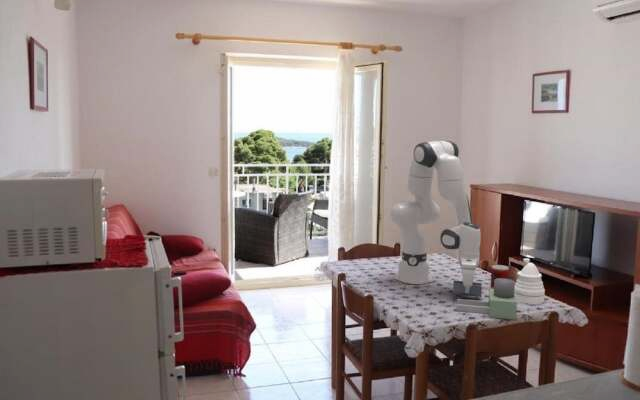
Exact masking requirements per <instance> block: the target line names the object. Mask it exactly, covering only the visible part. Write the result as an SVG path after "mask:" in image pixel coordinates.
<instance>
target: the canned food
mask: <svg viewBox="0 0 640 400" xmlns="http://www.w3.org/2000/svg"><path fill="white" fill-rule="evenodd" d="M509 271H510V269H509V266H507V265H502V264H494V265H492V266H491V271H490V273H491V274H490V289H494V280H495V279H498V278H505V279H509V276H510V275H509Z"/></svg>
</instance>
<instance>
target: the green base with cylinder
mask: <svg viewBox="0 0 640 400" xmlns="http://www.w3.org/2000/svg"><path fill="white" fill-rule="evenodd" d="M515 284H516V281H515V280H513V279H511V278H510V279H509V278H508V279H505V278H498V279H495V280H494V289H491V287H490V288H489V290H488V292H489V293H488V301H487V300H486V301H485V300H477V299H467V298H465V299H464V298H457V299H456V305H455V307H456V308H455V311H456V312H465V313H475V314H486V315H488V317H489V318H496V319H503V320H505V319H506V320H517V309H518V308H517V307H518V306H517V305H518V303H517V301H516V296H515V292H514V290H515Z"/></svg>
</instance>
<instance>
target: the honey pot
mask: <svg viewBox="0 0 640 400" xmlns="http://www.w3.org/2000/svg"><path fill="white" fill-rule="evenodd" d="M530 261H531V259H530V258H523V263H524V264H525V265H524V266H523V268H522V269H521V270H519V271H518V272H516V273H517V276H518V277H517V278H516V281H515V290H514V292H515V296H516V301H519V302H518V303H520V302H523V303H522V304H524V303H529V304H528V305H533V304H535V305H540V304H539V303H542V304H544V303H545V292H546V290H545V287H544V281H542V277H543V275H542V273H540V272H539V270H538V268H537V266H536V264H534V263H533V262H530ZM543 302H544V303H543Z"/></svg>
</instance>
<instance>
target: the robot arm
mask: <svg viewBox="0 0 640 400" xmlns="http://www.w3.org/2000/svg"><path fill="white" fill-rule="evenodd" d="M459 153H460V151H459V147H458V145H457V144H456V142H453V141H450V140H434V141H424V142H420V143H418V144H417V145H416V146H415V147H414V149H413V157H412V159H411V163H410V168H409V173H408V181H407V190H408V191H409V193H410V194H412V195H413V196H414V198H415V199H414V201H410V202H409V201H408V202H407V201H406V202H400V203H397V204H394V205H393V206H392V208H391V210H390V218H391V220H392V222H393V223H394V224H395V225H396V226H397V227H398V228H399V230H400V232H401V234H402V251H401V261H399V262H398V267H397V268H398V271H397V274H396V275H395V276H394V280H397V281H399V282H402V283H405V284H412V285H422V284H423V285H424V284H427V283H433V282H434V280H433V279H434V278H433V277H432V275H431V271H430V265H429V263H428V262H427V258H428V255H427V237H426V236H425V234H424V233H423V232H421V231H419V228H418V225H427V224H432V223H434V222H437V221H438V220H439V219H440V216H441V208H440V206H439V204H438V203H436V202H435V200H434V198H433V195H432V183H433V177H434V168H435V170H436V174H437V189H438V190H437V191H438V192H439V195H440V196H441V198H443V199H444V200H446V201H448V202H450V203H452V204H453V206H454V207H455V209H456V210H455V211H456V216H457V222H458V223H457V226H454V227H449V228H446V229H444V230H442V231H441V233H440V236H439V237H440V239H439V240H440V244H441V245H442V247H444V248H445V249H446V250H458V261H457V263H458V264H459V266H460V268H461V270H462V271H461V272H462V275H461V276H462V281H463V285H464V286H465V293H469V289H470V287H471V286H472V284H473V282H474V278H475V273H476V272H475V271H476V270H477V268H478V266H480V256H481V255H480V254H481V252H480V247H481V240H482V239H481V238H482V237H481V235H482V234H481V228H480V226H479V225H478V224H476V223H474V222H473V219H472V213H471V206H470V201H469V197H468V194H467V192H466V190H465V186H464V175H463V168H462V164H461V163H462V162H461V160H460V158H459V155H460V154H459Z"/></svg>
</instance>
